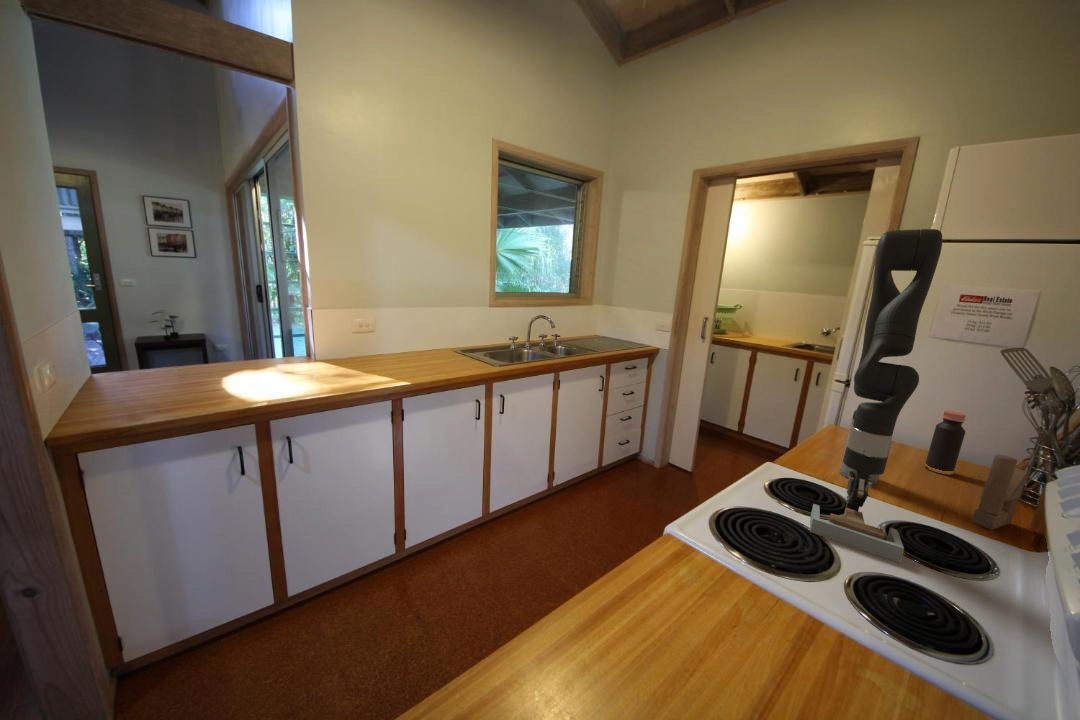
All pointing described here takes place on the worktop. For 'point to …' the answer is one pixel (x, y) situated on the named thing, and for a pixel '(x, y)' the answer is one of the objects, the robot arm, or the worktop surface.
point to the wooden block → (1000, 493)
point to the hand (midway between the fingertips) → (849, 517)
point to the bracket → (858, 537)
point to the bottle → (946, 442)
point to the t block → (856, 523)
